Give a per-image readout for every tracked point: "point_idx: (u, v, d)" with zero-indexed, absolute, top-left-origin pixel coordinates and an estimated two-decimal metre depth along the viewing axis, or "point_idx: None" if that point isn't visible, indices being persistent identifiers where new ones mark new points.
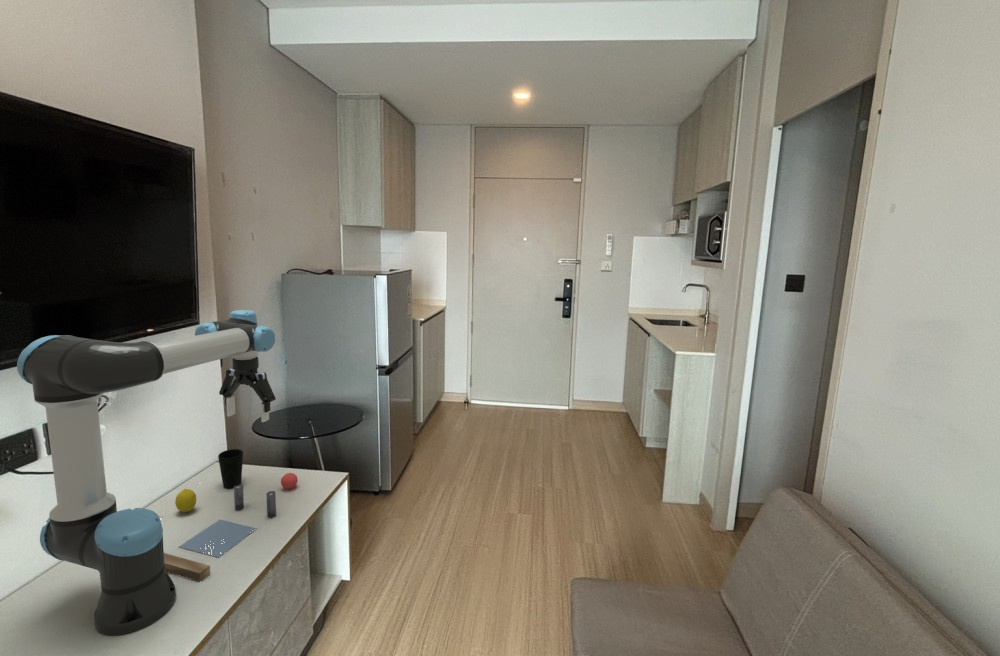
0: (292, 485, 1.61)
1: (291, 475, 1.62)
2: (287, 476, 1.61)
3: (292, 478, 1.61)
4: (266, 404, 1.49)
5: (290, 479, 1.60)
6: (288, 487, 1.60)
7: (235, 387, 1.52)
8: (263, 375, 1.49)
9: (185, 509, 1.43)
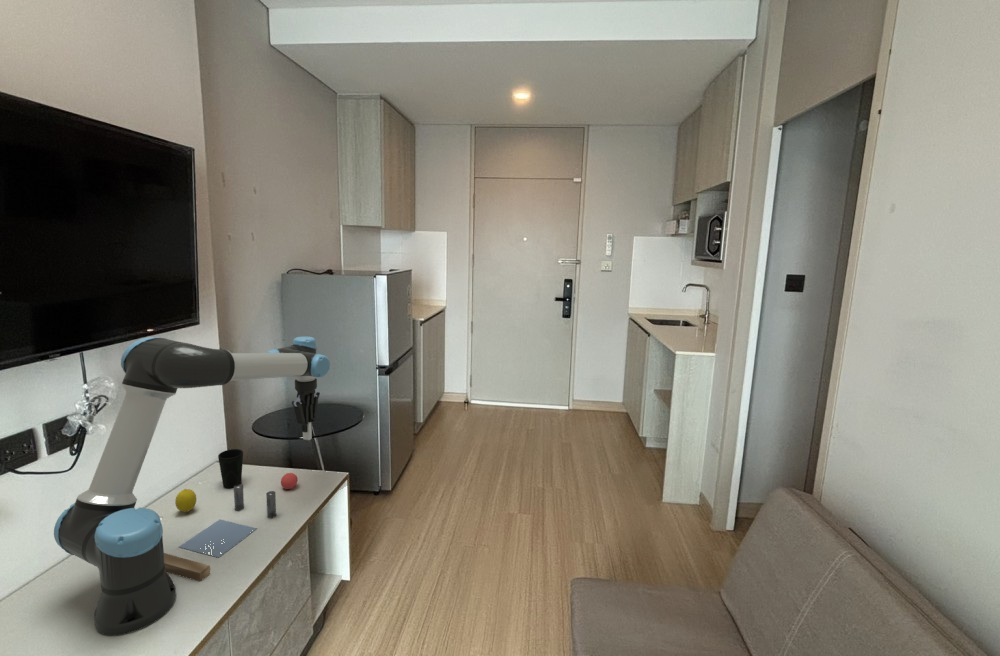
0: (292, 485, 1.61)
1: (291, 475, 1.62)
2: (287, 476, 1.61)
3: (292, 478, 1.61)
4: (311, 422, 1.70)
5: (290, 479, 1.60)
6: (288, 487, 1.60)
7: None
8: None
9: (185, 509, 1.43)
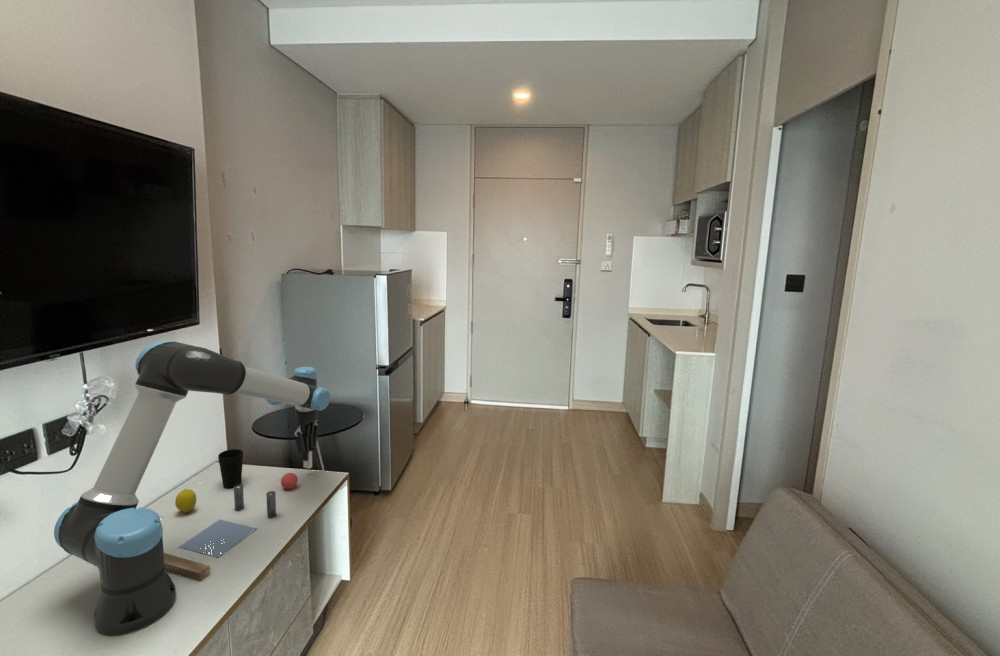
0: (292, 485, 1.61)
1: (291, 475, 1.62)
2: (287, 476, 1.61)
3: (292, 478, 1.61)
4: (311, 450, 1.72)
5: (290, 479, 1.60)
6: (288, 487, 1.60)
7: None
8: None
9: (185, 509, 1.43)
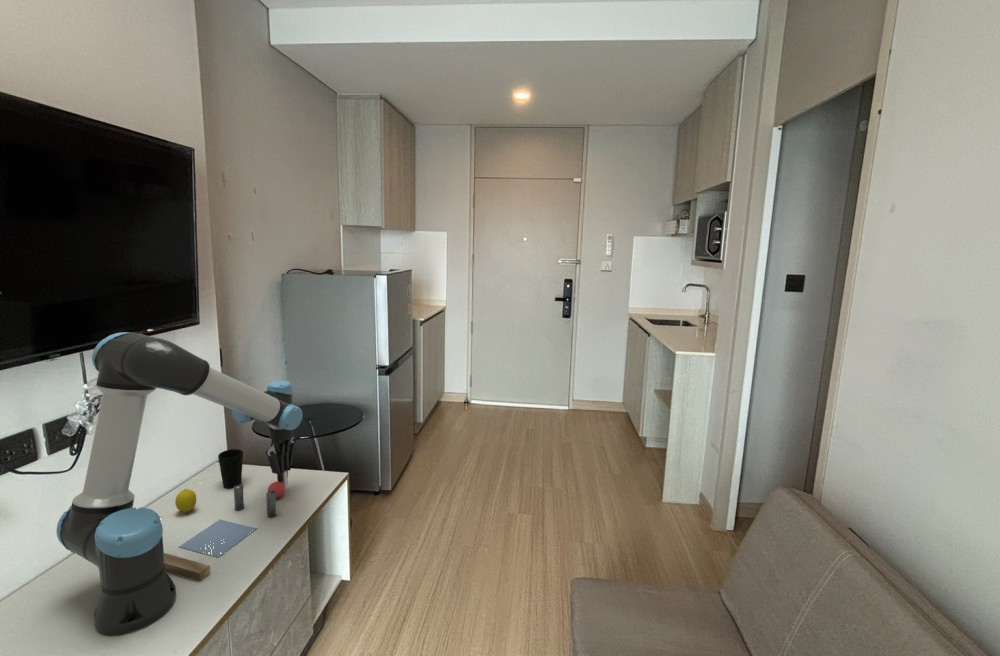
0: (282, 494, 1.56)
1: None
2: None
3: (277, 493, 1.54)
4: (287, 470, 1.60)
5: (276, 495, 1.54)
6: None
7: None
8: None
9: (185, 509, 1.43)
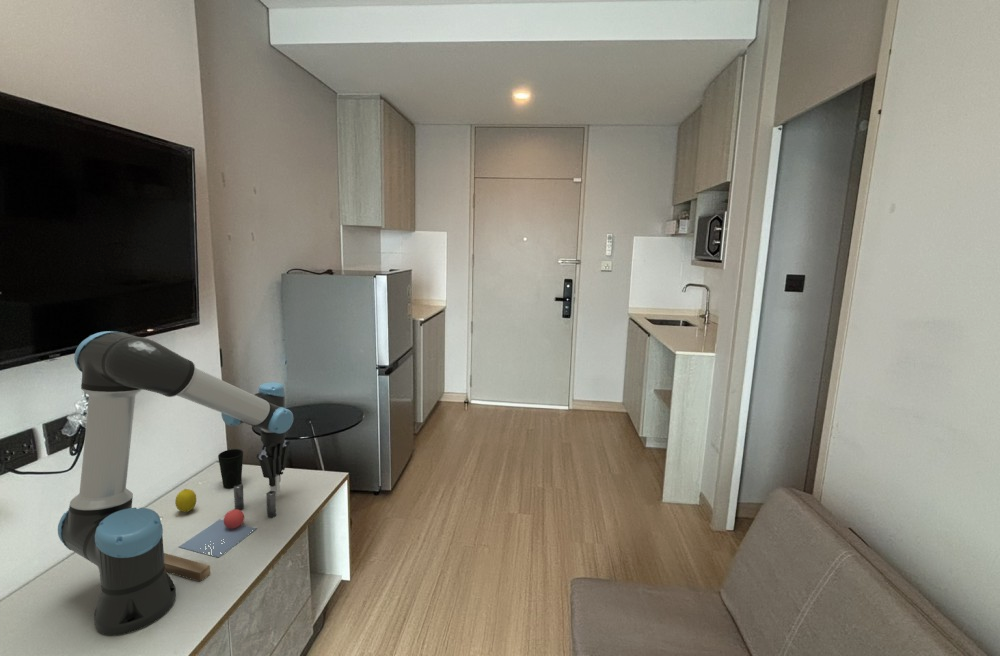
0: (240, 524, 1.39)
1: (231, 520, 1.37)
2: (227, 523, 1.36)
3: (234, 522, 1.37)
4: (279, 474, 1.56)
5: (233, 525, 1.37)
6: (237, 526, 1.39)
7: None
8: None
9: (185, 509, 1.43)
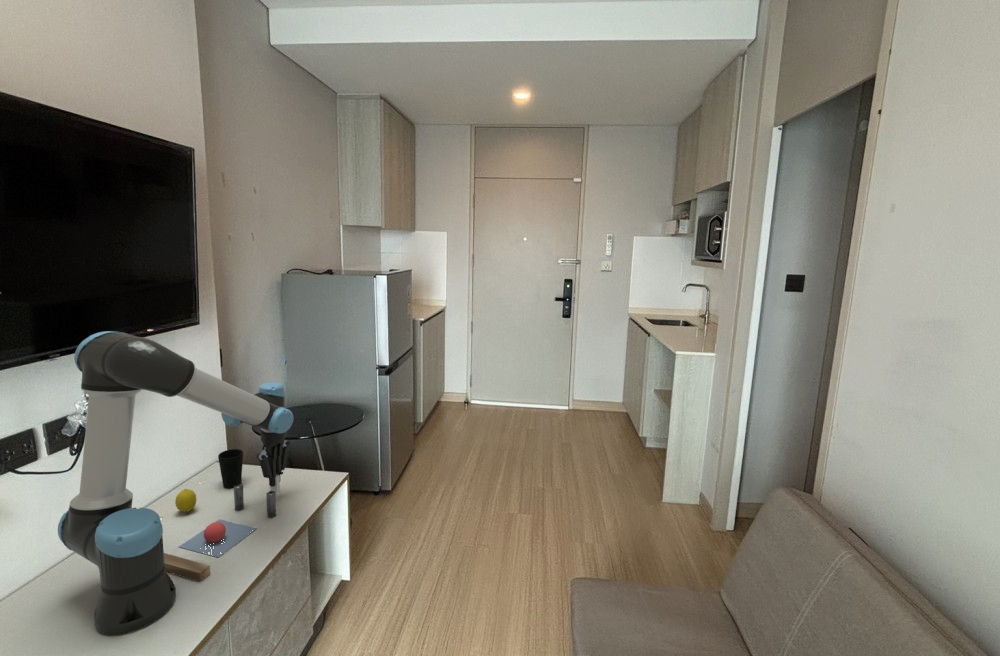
0: (223, 528, 1.32)
1: None
2: None
3: (224, 534, 1.33)
4: (279, 474, 1.56)
5: None
6: (221, 524, 1.33)
7: None
8: None
9: (185, 509, 1.43)
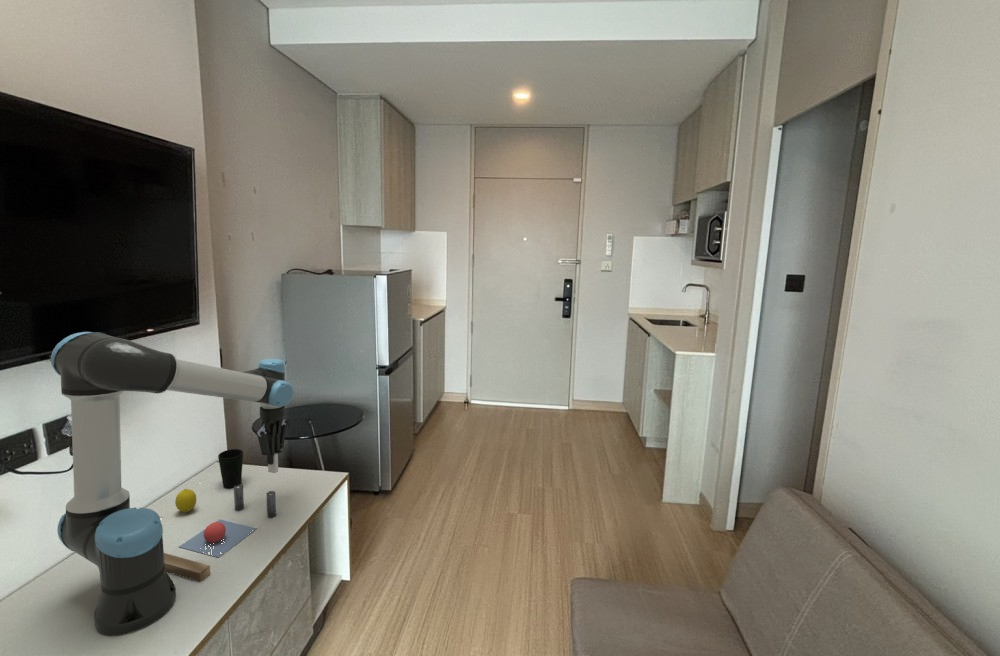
0: (223, 528, 1.32)
1: None
2: None
3: (224, 534, 1.33)
4: (278, 453, 1.55)
5: None
6: (221, 524, 1.33)
7: None
8: None
9: (185, 509, 1.43)
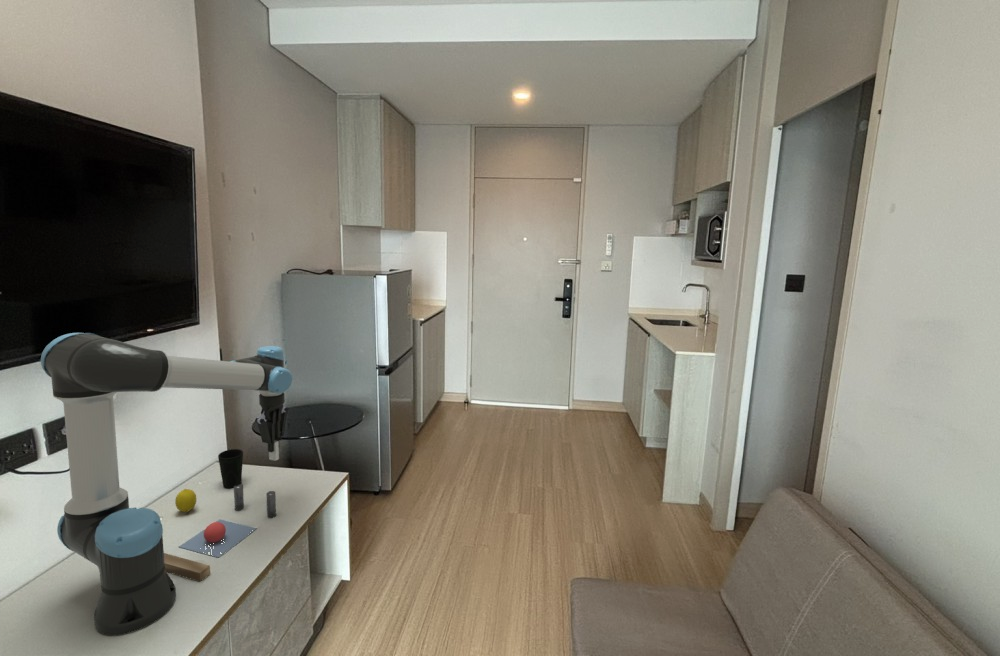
0: (223, 528, 1.32)
1: None
2: None
3: (224, 534, 1.33)
4: (278, 440, 1.54)
5: None
6: (221, 524, 1.33)
7: None
8: None
9: (185, 509, 1.43)
